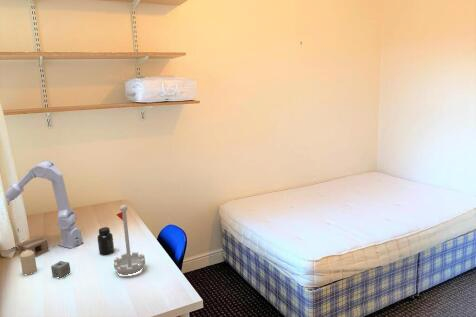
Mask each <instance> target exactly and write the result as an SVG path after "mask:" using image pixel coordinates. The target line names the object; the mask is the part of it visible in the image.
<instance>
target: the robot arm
mask: <svg viewBox="0 0 476 317" xmlns="http://www.w3.org/2000/svg"><path fill="white" fill-rule="evenodd" d="M63 176H64V175H63V174H62V172H61V171H60V170H59V169H58V168H57V166H56V164H55V163H54V162H52V161H51V160H43V161H42V162H40V163H38V164H36V165H34V166H33V167H32V168H30V169H29V170H28V171H27V172H26V173H25V175H24V176H22V178H21V179H20V180H19V181H18V182H13V183H11V184H12V185H11V184H10V185H9V186H10V188H9V187H8V188H9V189H8V188H7V189H8V190H7V192H6V195H5V196H6V199H7V203H8V205H9V203H10V201H12V200H14V199H15V198H16V199H17V198H18V197H19V196H20V195H21V194H22V193H23V192H24V187H25V186H26V185H27V184H28V183H30V182H31V181H32V180H33V179H34V178H40V179H46V180H48V181H50V182H51V186H52V190H53V193H54V197H55V198H54V199H55V201H56V206H57V209H58V210H57V211H58V212H57V213H58V214H57V224H56V225H57V227H58V228H59V230H60V235H61V241H62V242H61V243H59V244H58V246H61V247H64V248H69V249H73V248H75V247H78V246H79V245H81V244H83V243H84V242H85V241H84V240H83V237H82V231H81V230H80V229H79V228H78V227H77V225H76V221H77V218H78V217H77V214H75V212H74V209H73V208H71V207H70V203H69V198H68V194H67V190H66V184H65V180H64V177H63ZM16 199H15V200H16ZM17 231H18V233H20V232H19V228H17Z"/></svg>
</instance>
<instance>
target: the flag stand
mask: <svg viewBox="0 0 476 317" xmlns="http://www.w3.org/2000/svg"><path fill="white" fill-rule="evenodd" d="M119 210H120V211H121V212H118V213H117V214H115V215H116V217H118V218H119V219H120V220H121V221H122V222H123V223H122V224H123V231H124V232H123V233H124V242H125V251H126V253H123V254H120V256H121V257H115V258H114V259H113V269H114V270H116V271H117V272H118V273H119V274H122V275H128V274H133V273H136V272H138V271H140V270H141V269H142V268H143V269H144V265H145V263H146V257H145V254H144V253H140V254H139V251H135V252H134V251H133V252H131V245H130V237H129V229H128V228H129V227H128V219H127V211H128V206H127V205H125V204H122V205H121V206H120V207H119ZM138 264H139V265H138Z"/></svg>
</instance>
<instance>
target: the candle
mask: <svg viewBox="0 0 476 317" xmlns="http://www.w3.org/2000/svg"><path fill="white" fill-rule="evenodd" d="M19 259H20V260H19V261H20V266H21V271H22V275H24V274H30V275H32V274H31V273H33V274H35V273H36V272H37V270H38V266H37V262H36V257H35V255H34V252H33V251H31V250H26V251H23V252H22V253H21V254H20V256H19ZM34 272H35V273H34Z"/></svg>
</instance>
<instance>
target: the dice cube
mask: <svg viewBox="0 0 476 317" xmlns="http://www.w3.org/2000/svg"><path fill="white" fill-rule="evenodd" d="M50 268H51V274H52V275H51V276H52V277H53V276H54V277H53V278H56V277H59V278H58V279H60V278H62V277H64V276H65V277H67V276H68V275H70V274H71V273H70V272H71V266H70V262H68V261H62V260H59V261H58V262H56V263H55V264H52V265H51V266H50ZM69 273H70V274H69ZM67 274H68V275H67ZM66 275H67V276H66ZM65 277H64V278H65ZM62 279H63V278H62Z"/></svg>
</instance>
